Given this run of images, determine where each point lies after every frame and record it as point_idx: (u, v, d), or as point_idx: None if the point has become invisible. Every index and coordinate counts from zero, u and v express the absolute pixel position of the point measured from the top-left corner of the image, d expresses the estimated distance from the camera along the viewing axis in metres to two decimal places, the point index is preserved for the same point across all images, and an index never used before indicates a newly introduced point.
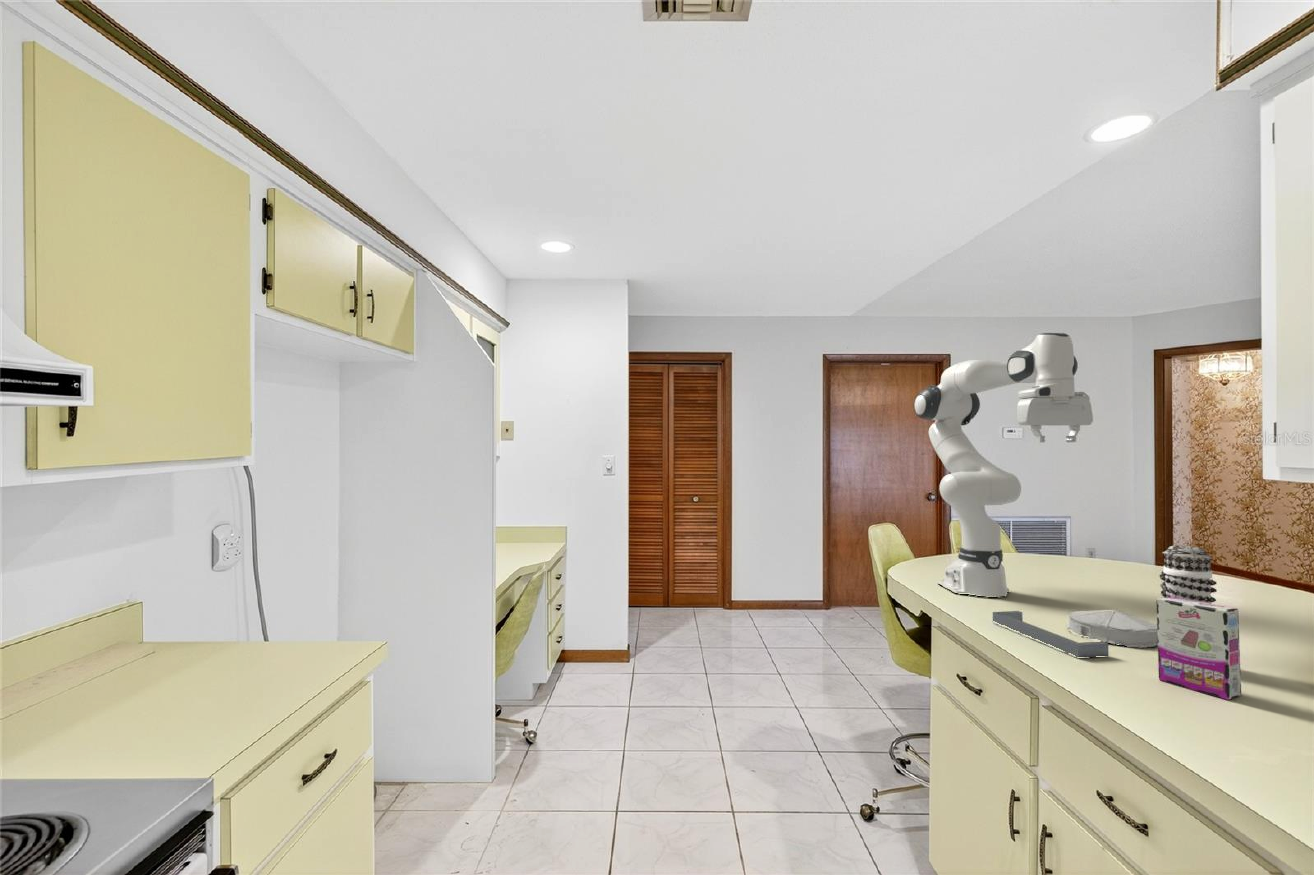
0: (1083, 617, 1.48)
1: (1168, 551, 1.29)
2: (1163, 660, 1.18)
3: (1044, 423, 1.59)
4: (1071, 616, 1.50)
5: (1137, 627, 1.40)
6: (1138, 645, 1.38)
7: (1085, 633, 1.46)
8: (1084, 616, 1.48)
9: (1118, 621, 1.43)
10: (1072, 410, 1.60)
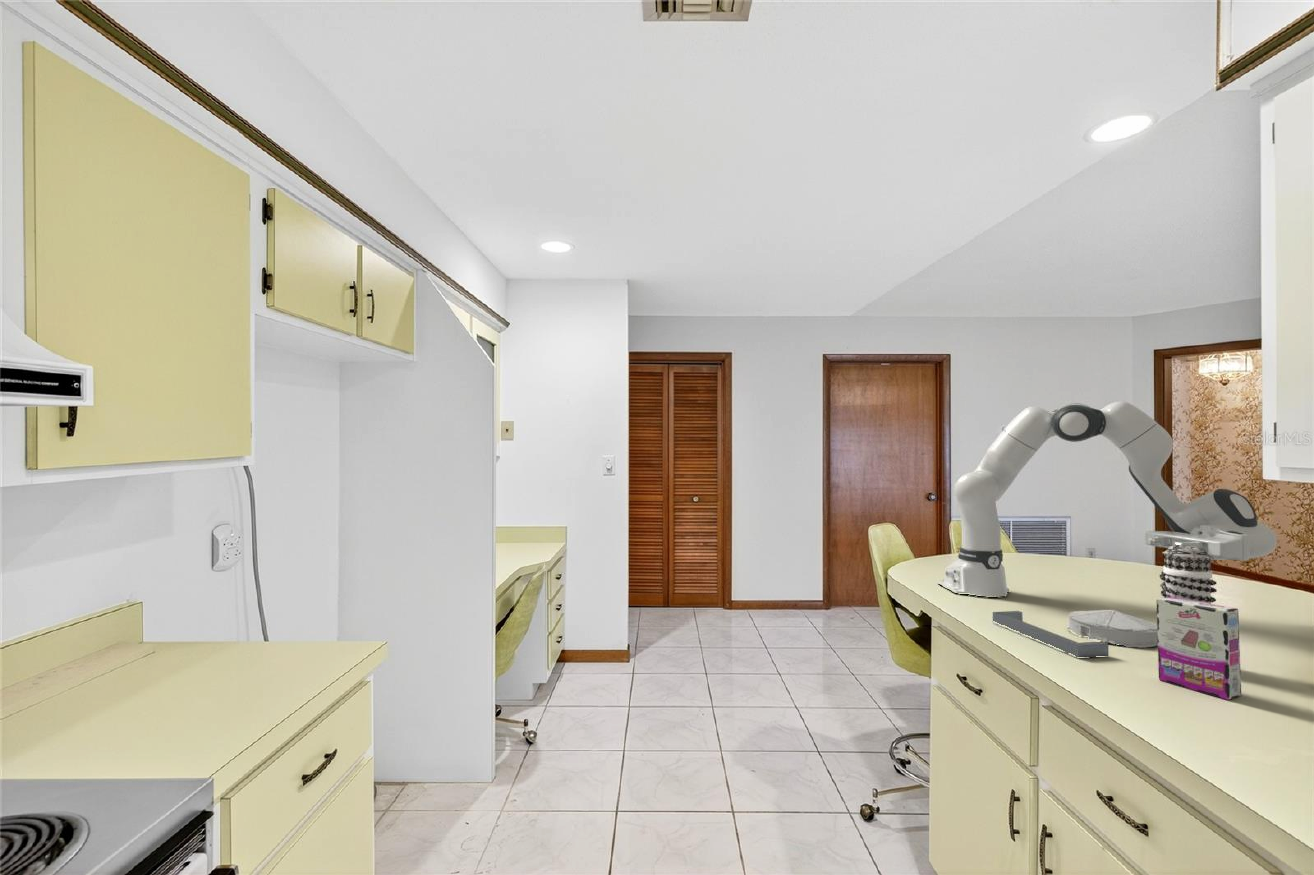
0: (1083, 617, 1.48)
1: (1168, 551, 1.29)
2: (1163, 660, 1.18)
3: None
4: (1071, 616, 1.50)
5: (1137, 627, 1.40)
6: (1138, 645, 1.38)
7: (1085, 633, 1.46)
8: (1084, 616, 1.48)
9: (1118, 621, 1.43)
10: None
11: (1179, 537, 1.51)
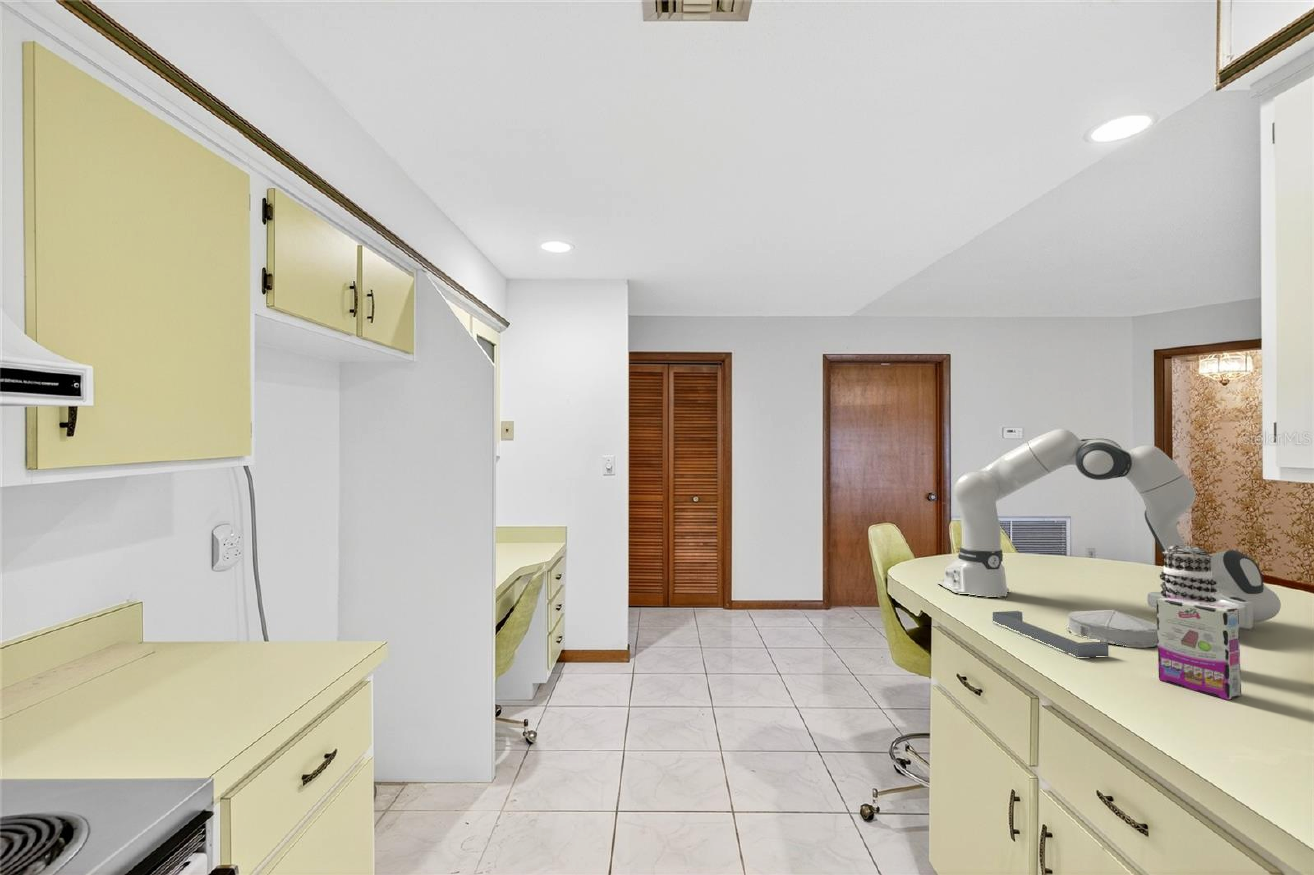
0: (1083, 617, 1.48)
1: (1168, 551, 1.29)
2: (1163, 660, 1.18)
3: None
4: (1071, 616, 1.50)
5: (1137, 627, 1.40)
6: (1138, 645, 1.38)
7: (1085, 633, 1.46)
8: (1084, 616, 1.48)
9: (1117, 621, 1.43)
10: None
11: None
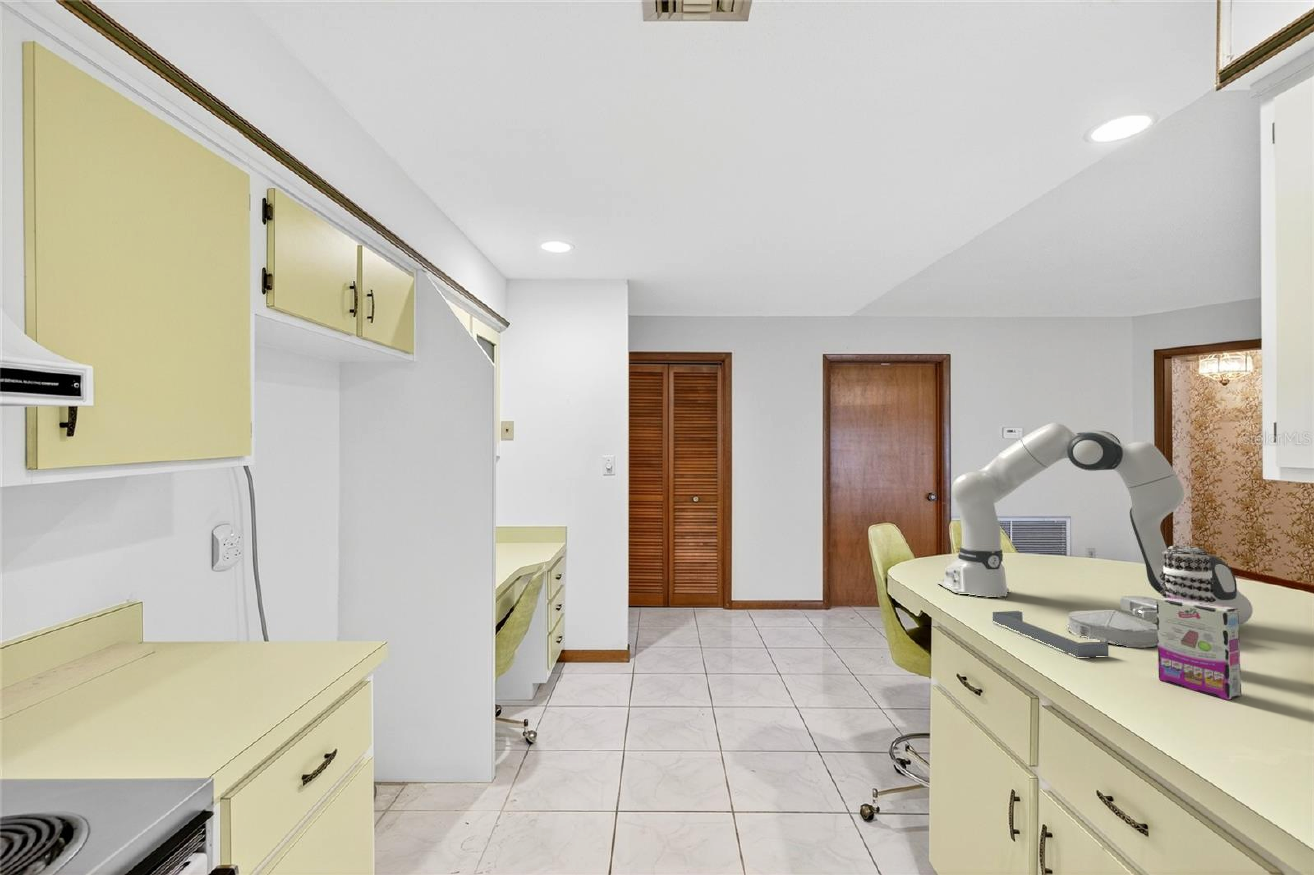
0: (1083, 617, 1.48)
1: (1168, 551, 1.29)
2: (1163, 660, 1.18)
3: None
4: (1071, 616, 1.50)
5: (1137, 627, 1.40)
6: (1138, 645, 1.38)
7: (1085, 633, 1.46)
8: (1084, 616, 1.48)
9: (1117, 621, 1.43)
10: None
11: (1153, 606, 1.49)
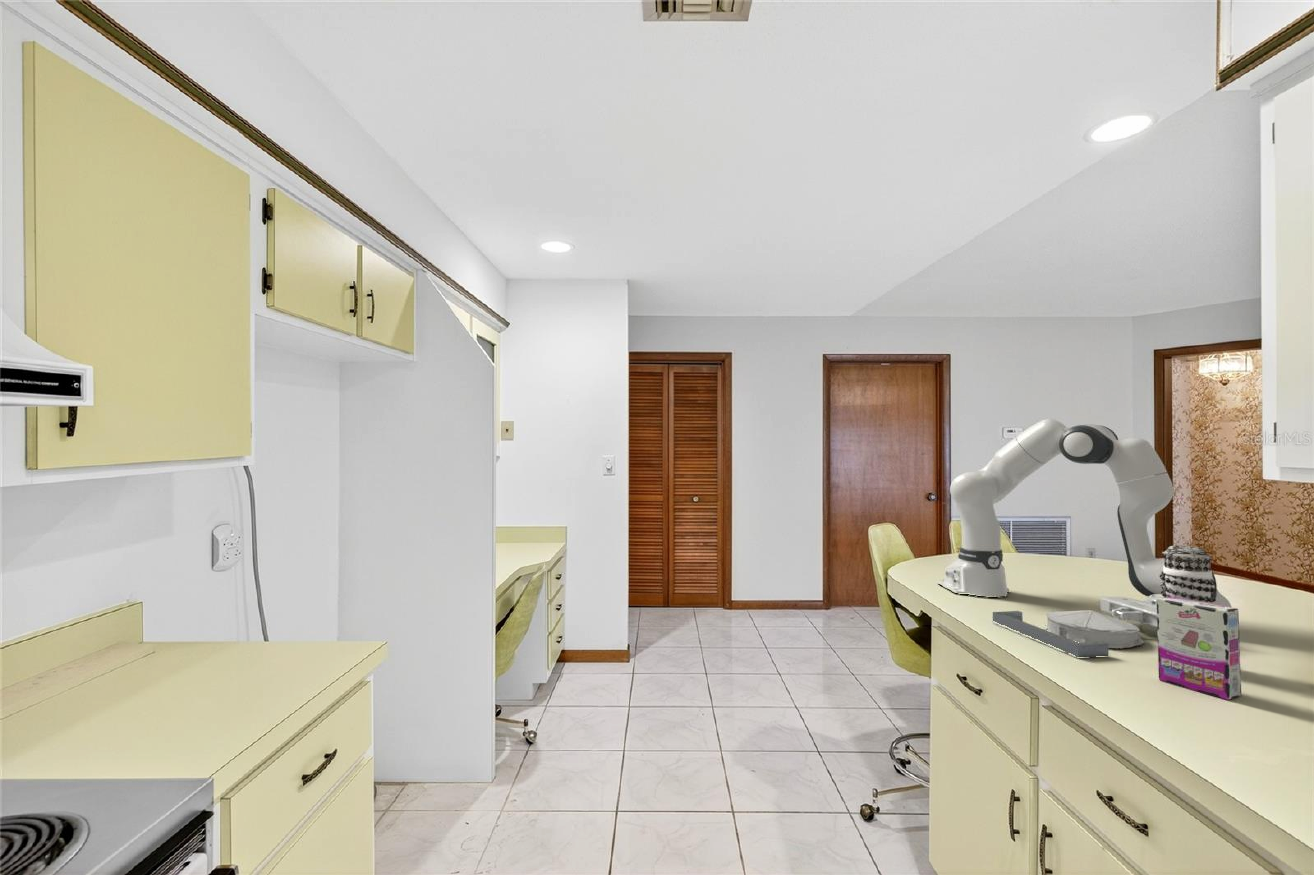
0: (1061, 618, 1.47)
1: (1168, 551, 1.29)
2: (1163, 660, 1.18)
3: (1153, 626, 1.44)
4: (1049, 617, 1.49)
5: (1115, 628, 1.39)
6: (1116, 646, 1.37)
7: (1063, 634, 1.45)
8: (1062, 617, 1.47)
9: (1095, 621, 1.42)
10: None
11: (1132, 607, 1.49)
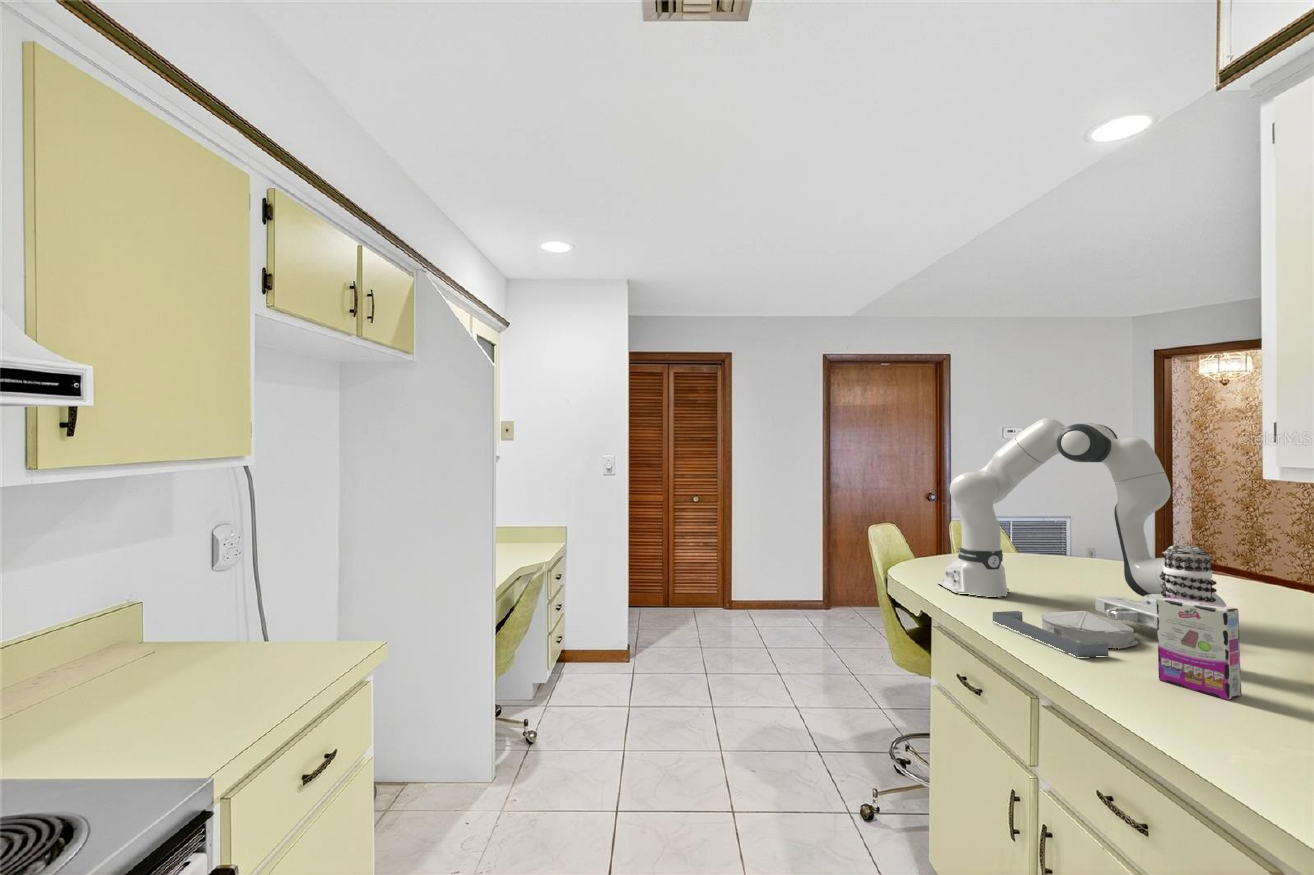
0: (1056, 619, 1.46)
1: (1168, 551, 1.29)
2: (1163, 660, 1.18)
3: (1148, 626, 1.43)
4: (1044, 618, 1.49)
5: (1109, 628, 1.39)
6: (1111, 647, 1.37)
7: None
8: (1057, 618, 1.47)
9: (1090, 622, 1.42)
10: None
11: (1127, 607, 1.48)
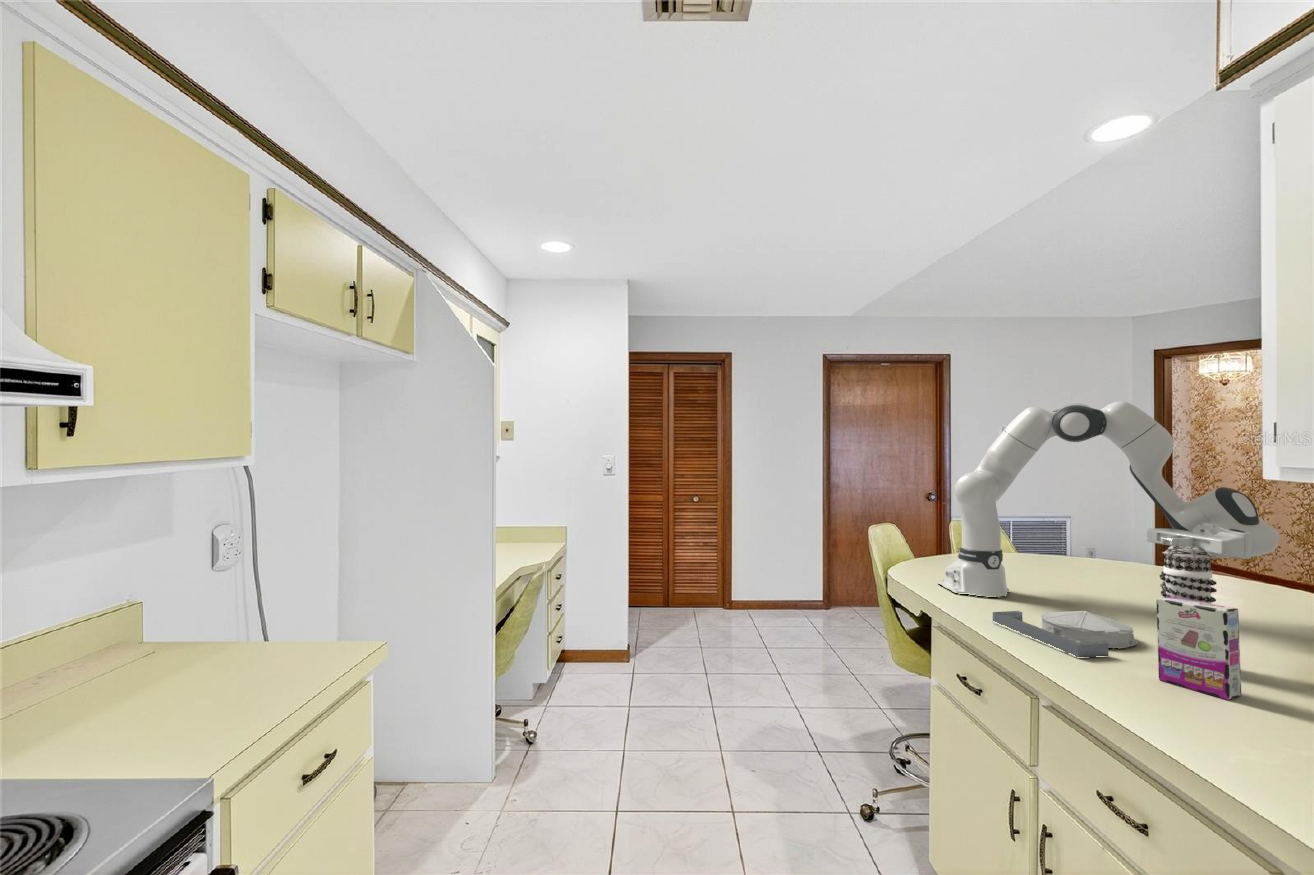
0: (1056, 619, 1.46)
1: (1168, 551, 1.29)
2: (1163, 660, 1.18)
3: None
4: (1044, 618, 1.49)
5: (1109, 628, 1.39)
6: (1111, 647, 1.37)
7: None
8: (1057, 618, 1.47)
9: (1090, 622, 1.42)
10: None
11: (1181, 535, 1.51)
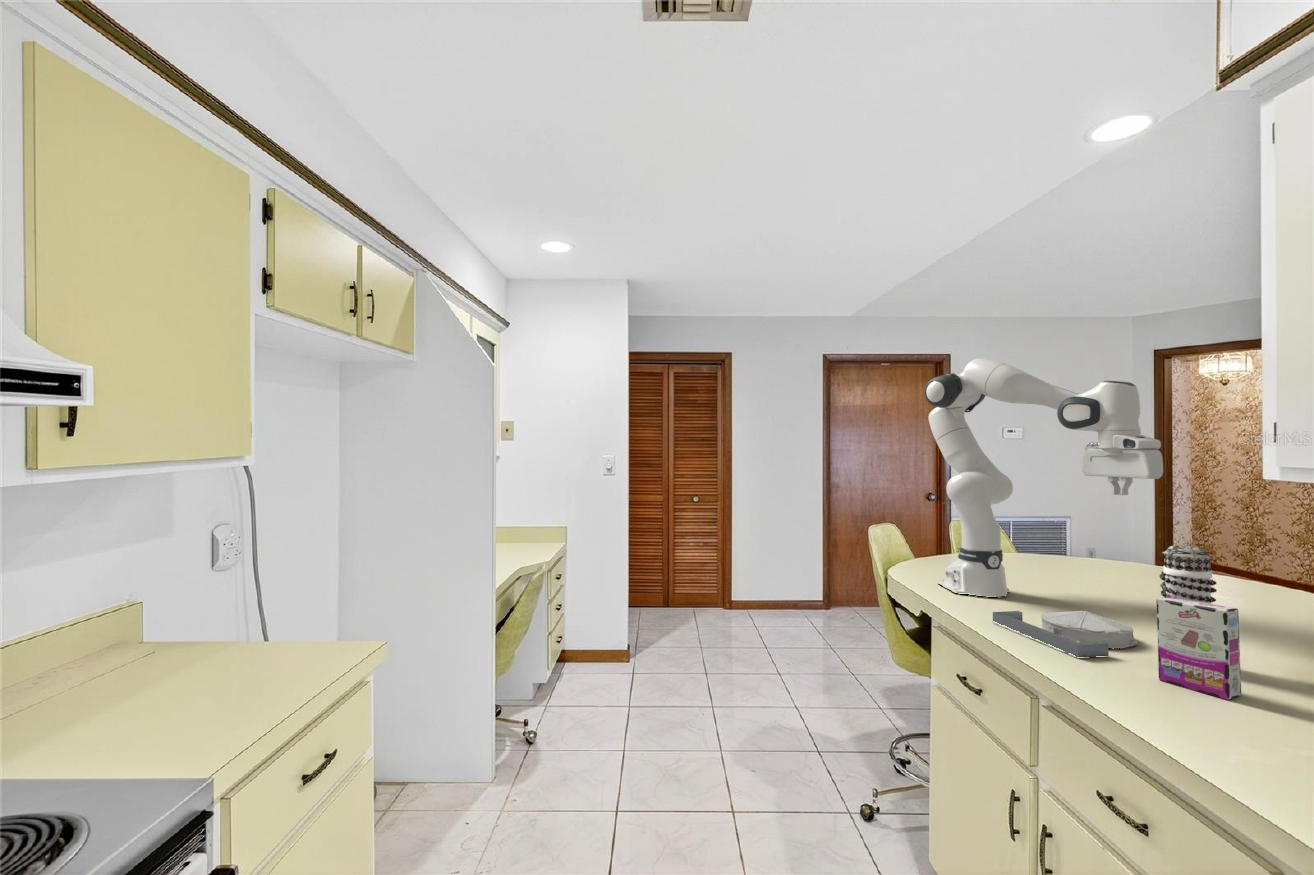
0: (1056, 619, 1.46)
1: (1168, 551, 1.29)
2: (1163, 660, 1.18)
3: None
4: (1044, 618, 1.49)
5: (1109, 628, 1.39)
6: (1111, 647, 1.37)
7: None
8: (1057, 618, 1.47)
9: (1090, 622, 1.42)
10: None
11: (1113, 476, 1.55)
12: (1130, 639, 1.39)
